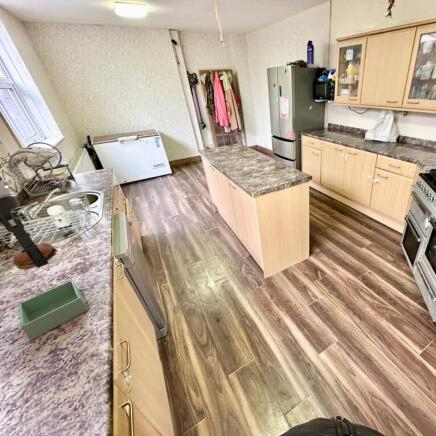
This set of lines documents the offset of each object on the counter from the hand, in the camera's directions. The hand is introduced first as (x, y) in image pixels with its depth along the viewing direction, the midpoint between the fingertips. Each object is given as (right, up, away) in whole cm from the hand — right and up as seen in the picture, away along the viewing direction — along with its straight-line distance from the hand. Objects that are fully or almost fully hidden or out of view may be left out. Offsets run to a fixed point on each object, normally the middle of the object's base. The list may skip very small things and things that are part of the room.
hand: (39, 260), depth 76 cm
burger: (0, 0, 0) cm, 0 cm away
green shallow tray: (+6, -17, 0) cm, 18 cm away
